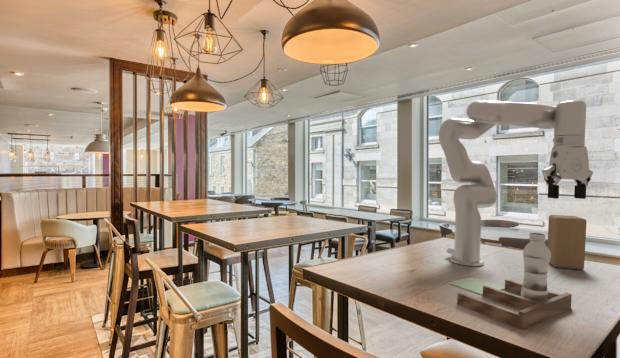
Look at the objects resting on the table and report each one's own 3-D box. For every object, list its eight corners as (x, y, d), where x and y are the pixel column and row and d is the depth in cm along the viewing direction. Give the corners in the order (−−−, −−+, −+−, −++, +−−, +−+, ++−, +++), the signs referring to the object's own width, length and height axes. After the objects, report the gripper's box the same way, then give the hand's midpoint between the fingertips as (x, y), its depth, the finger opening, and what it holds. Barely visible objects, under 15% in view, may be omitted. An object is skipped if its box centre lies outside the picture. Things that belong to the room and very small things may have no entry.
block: (574, 264, 139) (576, 215, 138) (585, 271, 130) (587, 219, 129) (545, 261, 142) (548, 214, 142) (554, 267, 133) (556, 217, 132)
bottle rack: (457, 303, 94) (457, 289, 93) (506, 288, 107) (507, 276, 107) (523, 329, 79) (524, 312, 79) (570, 308, 93) (571, 293, 92)
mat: (448, 283, 110) (448, 282, 110) (470, 278, 117) (470, 277, 117) (483, 295, 100) (483, 294, 100) (505, 289, 107) (505, 288, 107)
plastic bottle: (514, 300, 97) (517, 231, 97) (536, 300, 98) (539, 231, 97) (531, 310, 91) (534, 236, 90) (554, 309, 91) (558, 236, 91)
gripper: (556, 140, 98) (553, 199, 98) (605, 142, 101) (602, 199, 101) (534, 142, 105) (532, 197, 105) (580, 144, 108) (578, 197, 109)
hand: (566, 198), depth 103 cm, fingers open, 9 cm apart
